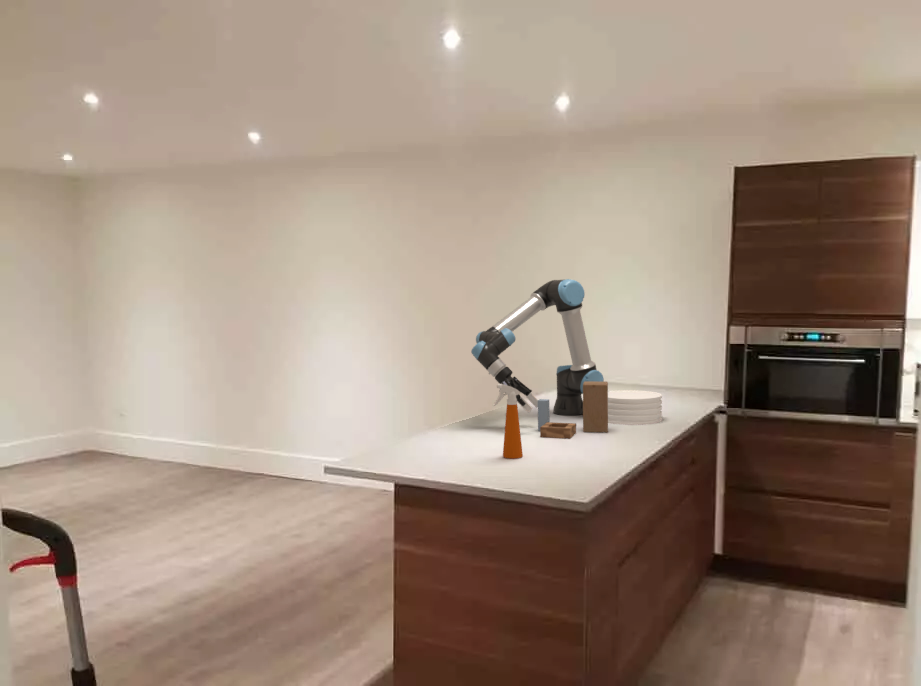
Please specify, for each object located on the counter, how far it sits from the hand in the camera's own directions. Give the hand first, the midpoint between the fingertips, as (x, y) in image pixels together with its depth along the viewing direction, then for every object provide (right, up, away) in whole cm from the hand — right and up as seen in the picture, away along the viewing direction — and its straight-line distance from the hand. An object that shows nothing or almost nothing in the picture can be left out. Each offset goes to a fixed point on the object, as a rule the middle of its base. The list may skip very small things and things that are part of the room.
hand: (534, 408), depth 314 cm
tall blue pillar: (+4, -9, 0) cm, 10 cm away
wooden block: (+25, -9, -1) cm, 27 cm away
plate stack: (+45, -7, +24) cm, 52 cm away
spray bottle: (-14, -13, -48) cm, 52 cm away
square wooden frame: (+9, -10, -10) cm, 17 cm away
